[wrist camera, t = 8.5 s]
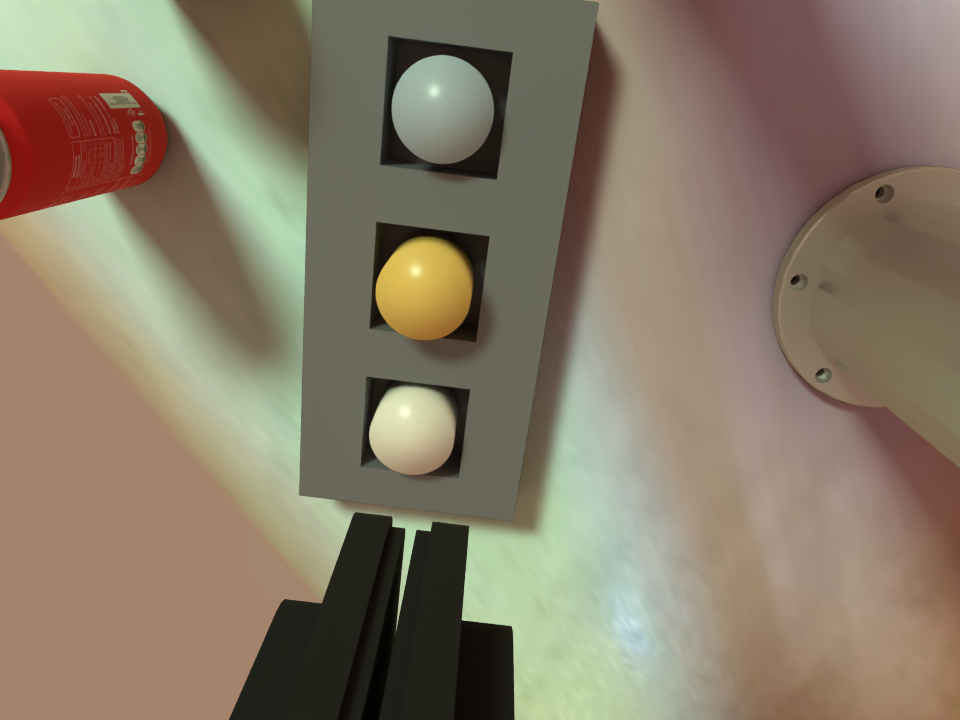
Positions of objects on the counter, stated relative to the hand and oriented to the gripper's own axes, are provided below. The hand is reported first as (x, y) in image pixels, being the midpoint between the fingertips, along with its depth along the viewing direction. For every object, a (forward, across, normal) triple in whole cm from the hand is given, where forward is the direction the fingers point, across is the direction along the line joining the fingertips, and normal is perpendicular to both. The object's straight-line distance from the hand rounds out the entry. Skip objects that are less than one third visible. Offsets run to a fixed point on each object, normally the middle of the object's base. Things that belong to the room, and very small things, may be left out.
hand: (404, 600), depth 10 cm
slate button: (+27, +2, -6) cm, 27 cm away
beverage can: (+27, +18, -3) cm, 33 cm away
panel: (+27, +2, +2) cm, 27 cm away
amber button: (+25, +2, +2) cm, 26 cm away
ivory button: (+26, +2, +10) cm, 28 cm away
